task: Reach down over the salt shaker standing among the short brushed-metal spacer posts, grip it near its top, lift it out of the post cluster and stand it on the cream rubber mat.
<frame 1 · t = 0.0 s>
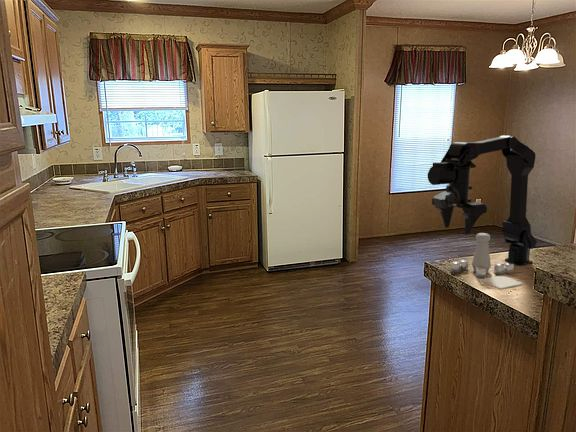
hand: (456, 230, 146), 15 cm above the table, tool pointing down, fingers open, 9 cm apart
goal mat: (501, 282, 141), on the table
spacer posts: (480, 271, 151), on the table
salt shaker: (480, 272, 151), on the table
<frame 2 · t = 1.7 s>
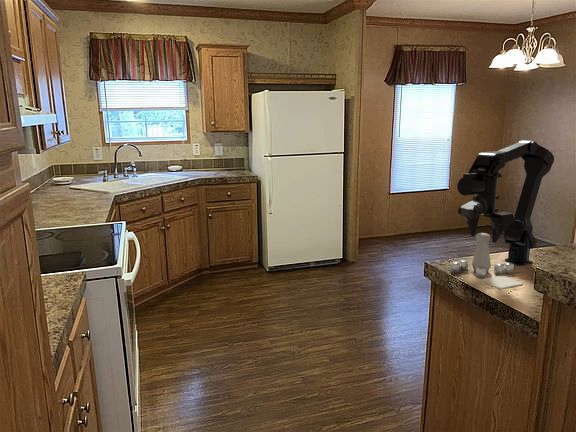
hand: (483, 239, 149), 11 cm above the table, tool pointing down, fingers open, 9 cm apart
nothing on the table moved.
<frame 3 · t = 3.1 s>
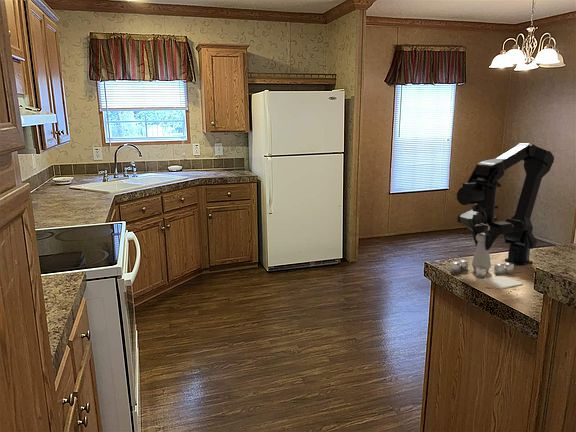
hand: (482, 248, 149), 8 cm above the table, tool pointing down, fingers closed on salt shaker, 4 cm apart
salt shaker: (480, 272, 151), on the table, touching gripper
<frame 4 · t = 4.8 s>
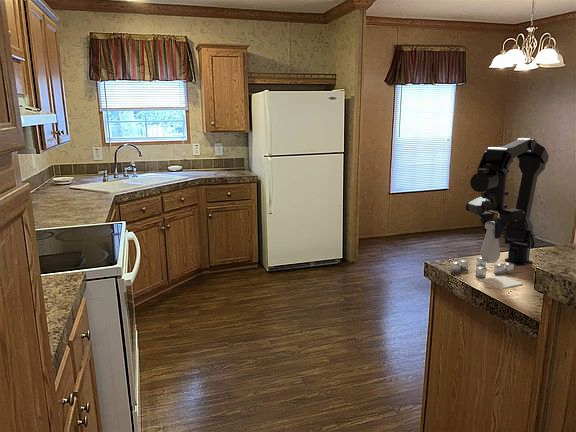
hand: (491, 236, 144), 13 cm above the table, tool pointing down, fingers closed on salt shaker, 4 cm apart
salt shaker: (489, 261, 146), point 5 cm above the table, touching gripper
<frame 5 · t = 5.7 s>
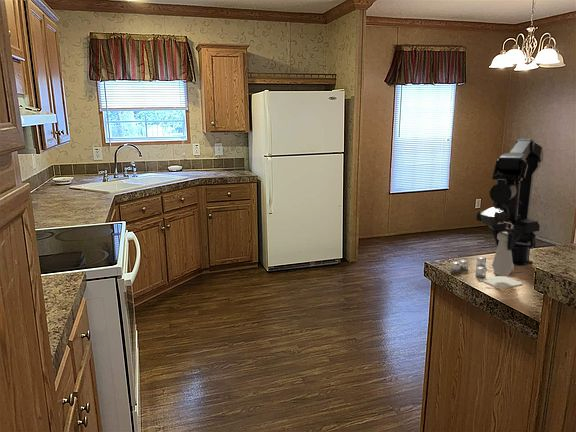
hand: (504, 248, 138), 11 cm above the table, tool pointing down, fingers closed on salt shaker, 4 cm apart
salt shaker: (501, 273, 140), point 3 cm above the table, touching gripper
when the fingers open (10 cm above the table, at t = 6.6 s): salt shaker drops 1 cm, resting on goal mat.
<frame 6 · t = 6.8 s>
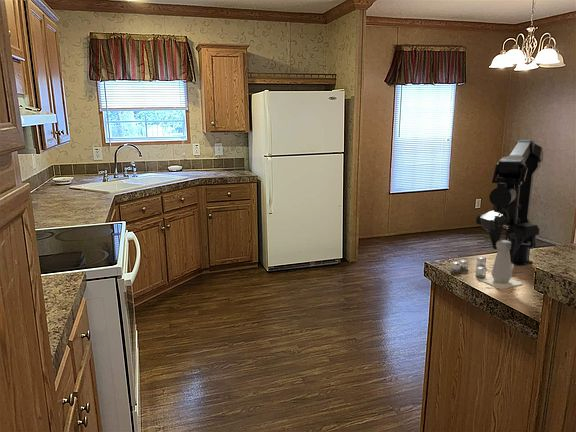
hand: (503, 251, 139), 10 cm above the table, tool pointing down, fingers open, 6 cm apart
salt shaker: (501, 281, 141), resting on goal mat
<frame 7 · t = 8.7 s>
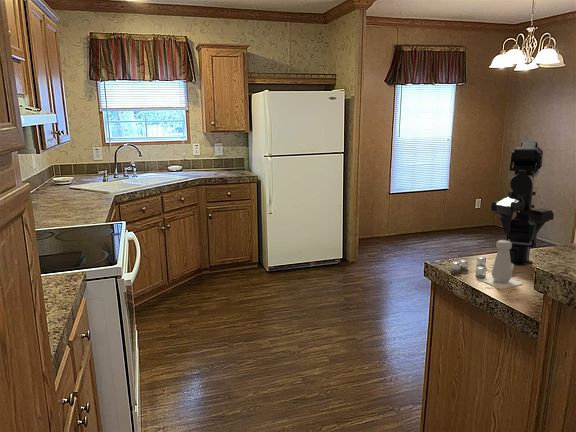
hand: (518, 236, 144), 13 cm above the table, tool pointing down, fingers open, 9 cm apart
nothing on the table moved.
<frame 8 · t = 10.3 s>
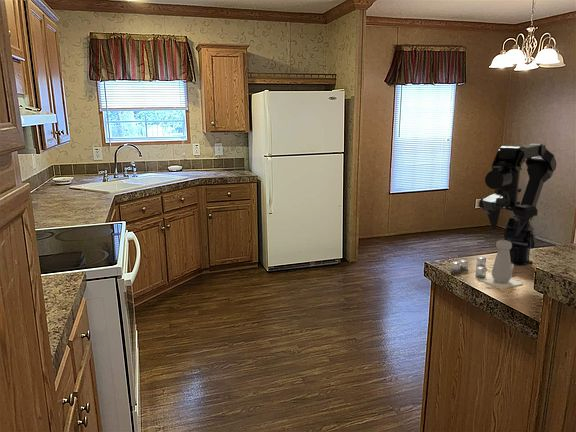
hand: (504, 232, 149), 13 cm above the table, tool pointing down, fingers open, 9 cm apart
nothing on the table moved.
at the end: salt shaker 0.1 cm from the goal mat (horizontally); salt shaker tilted 0°; the gripper is holding nothing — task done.
